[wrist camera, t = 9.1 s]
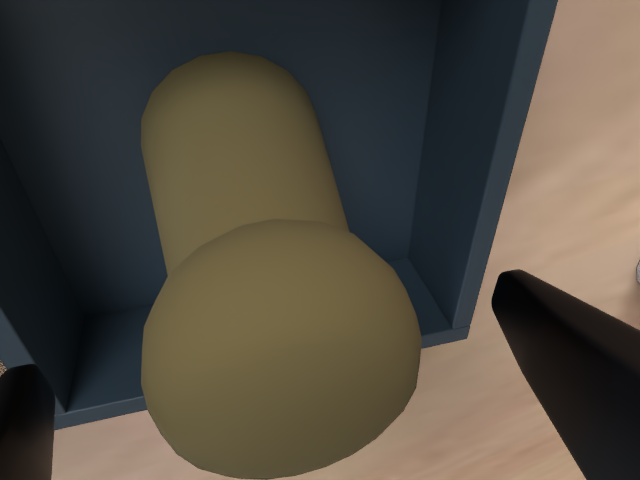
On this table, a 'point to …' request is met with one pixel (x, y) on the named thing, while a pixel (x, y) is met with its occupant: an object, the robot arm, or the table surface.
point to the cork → (263, 282)
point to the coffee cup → (638, 272)
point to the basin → (337, 130)
